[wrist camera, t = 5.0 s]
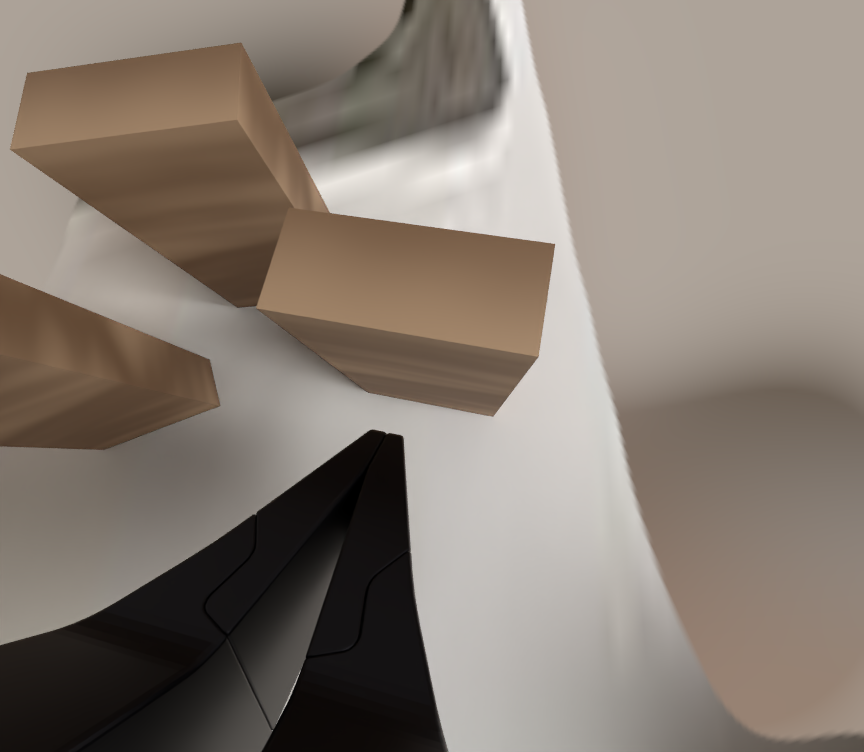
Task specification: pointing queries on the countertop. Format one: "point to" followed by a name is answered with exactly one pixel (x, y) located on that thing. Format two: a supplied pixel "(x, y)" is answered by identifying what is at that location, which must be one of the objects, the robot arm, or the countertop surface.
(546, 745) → the countertop surface
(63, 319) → the tile two
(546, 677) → the countertop surface
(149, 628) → the robot arm
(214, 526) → the countertop surface
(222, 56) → the light brown wooden block
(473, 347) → the wooden block
